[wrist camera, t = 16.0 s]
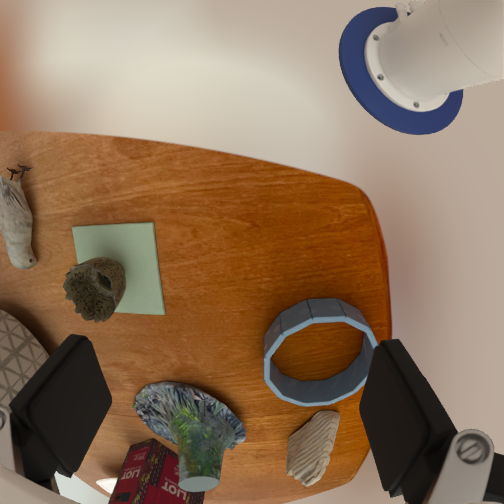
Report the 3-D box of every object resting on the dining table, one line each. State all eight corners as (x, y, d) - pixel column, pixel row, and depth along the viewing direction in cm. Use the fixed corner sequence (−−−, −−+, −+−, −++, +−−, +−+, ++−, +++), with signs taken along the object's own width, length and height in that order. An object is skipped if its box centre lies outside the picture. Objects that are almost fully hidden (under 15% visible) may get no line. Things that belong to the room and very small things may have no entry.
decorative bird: (28, 262, 39) (0, 278, 32) (14, 167, 34) (-18, 172, 27) (48, 262, 39) (20, 279, 31) (35, 160, 34) (2, 164, 27)
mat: (73, 226, 37) (71, 227, 36) (154, 221, 36) (152, 222, 36) (90, 308, 41) (88, 310, 40) (165, 313, 40) (164, 315, 40)
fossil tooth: (344, 408, 47) (300, 455, 50) (316, 402, 46) (274, 450, 49) (363, 453, 36) (311, 497, 39) (333, 449, 35) (281, 495, 38)
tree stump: (128, 365, 44) (115, 447, 27) (244, 369, 49) (272, 447, 32) (137, 431, 49) (135, 503, 32) (233, 433, 54) (252, 502, 37)
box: (130, 445, 52) (104, 513, 33) (153, 438, 50) (128, 514, 31) (182, 479, 55) (168, 543, 36) (207, 473, 53) (196, 543, 34)
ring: (263, 299, 39) (263, 318, 34) (375, 295, 38) (388, 312, 34) (263, 385, 44) (263, 408, 39) (358, 380, 43) (366, 400, 38)
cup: (149, 283, 38) (126, 311, 31) (112, 302, 39) (86, 330, 32) (121, 235, 36) (91, 254, 29) (85, 258, 37) (53, 279, 30)
